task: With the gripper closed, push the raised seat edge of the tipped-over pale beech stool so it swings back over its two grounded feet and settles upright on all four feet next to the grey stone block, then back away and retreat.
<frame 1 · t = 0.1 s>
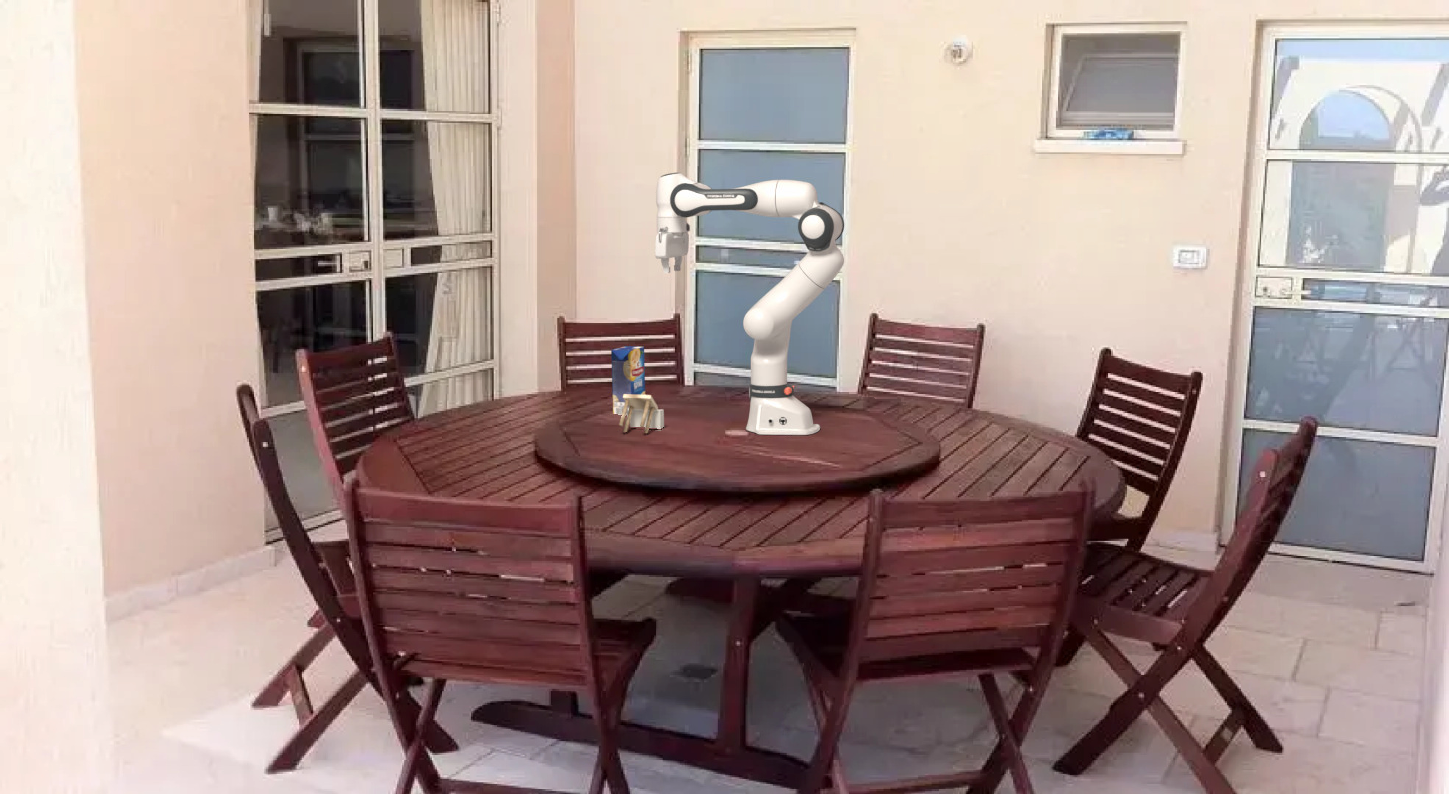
hand: (672, 272, 415), 48 cm above the table, fingers open, 8 cm apart
beverage box: (629, 415, 443), on the table
stool: (637, 414, 409), point 6 cm above the table, hinge at 40.0°
stone block: (647, 428, 417), on the table
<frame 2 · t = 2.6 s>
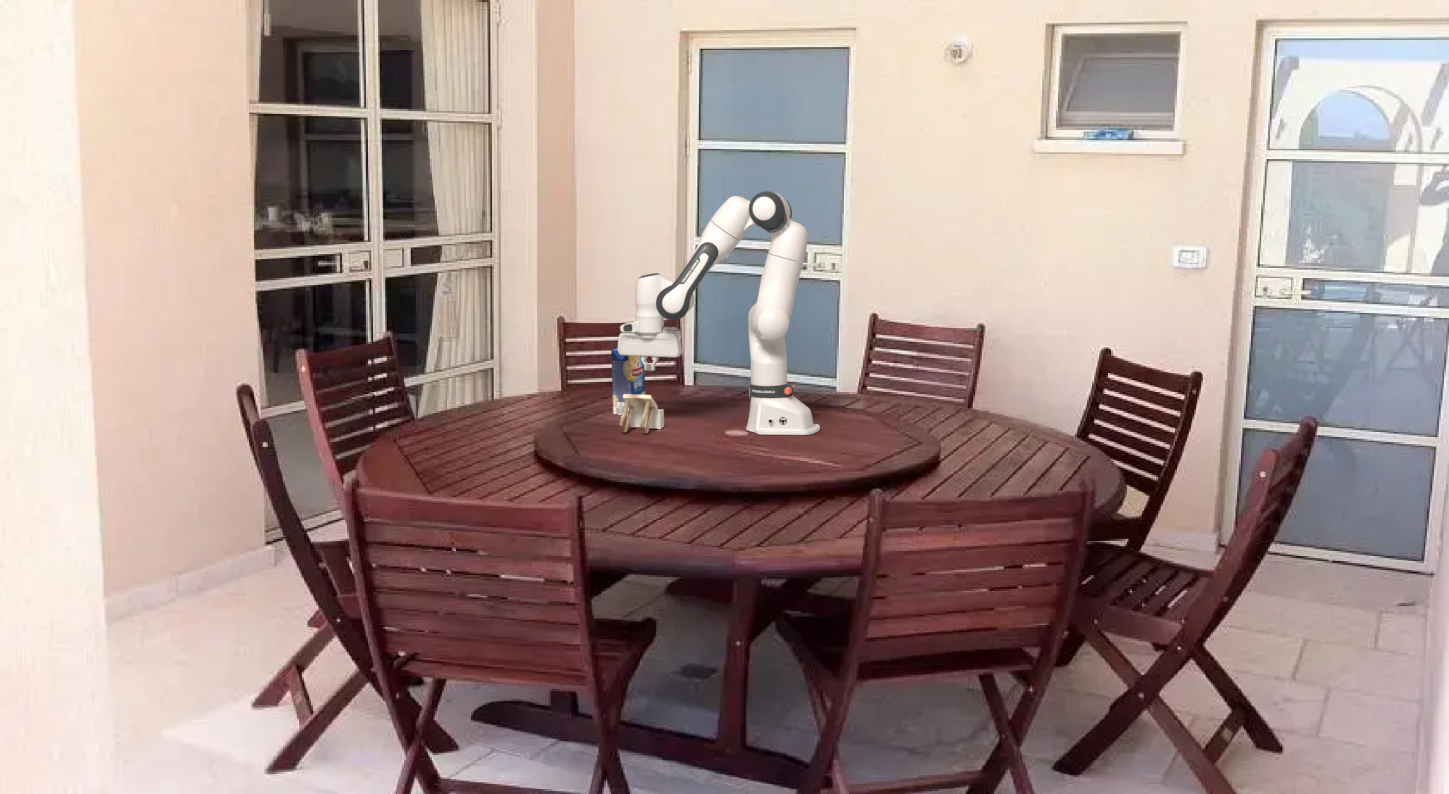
hand: (649, 370, 418), 18 cm above the table, fingers closed
nothing on the table moved.
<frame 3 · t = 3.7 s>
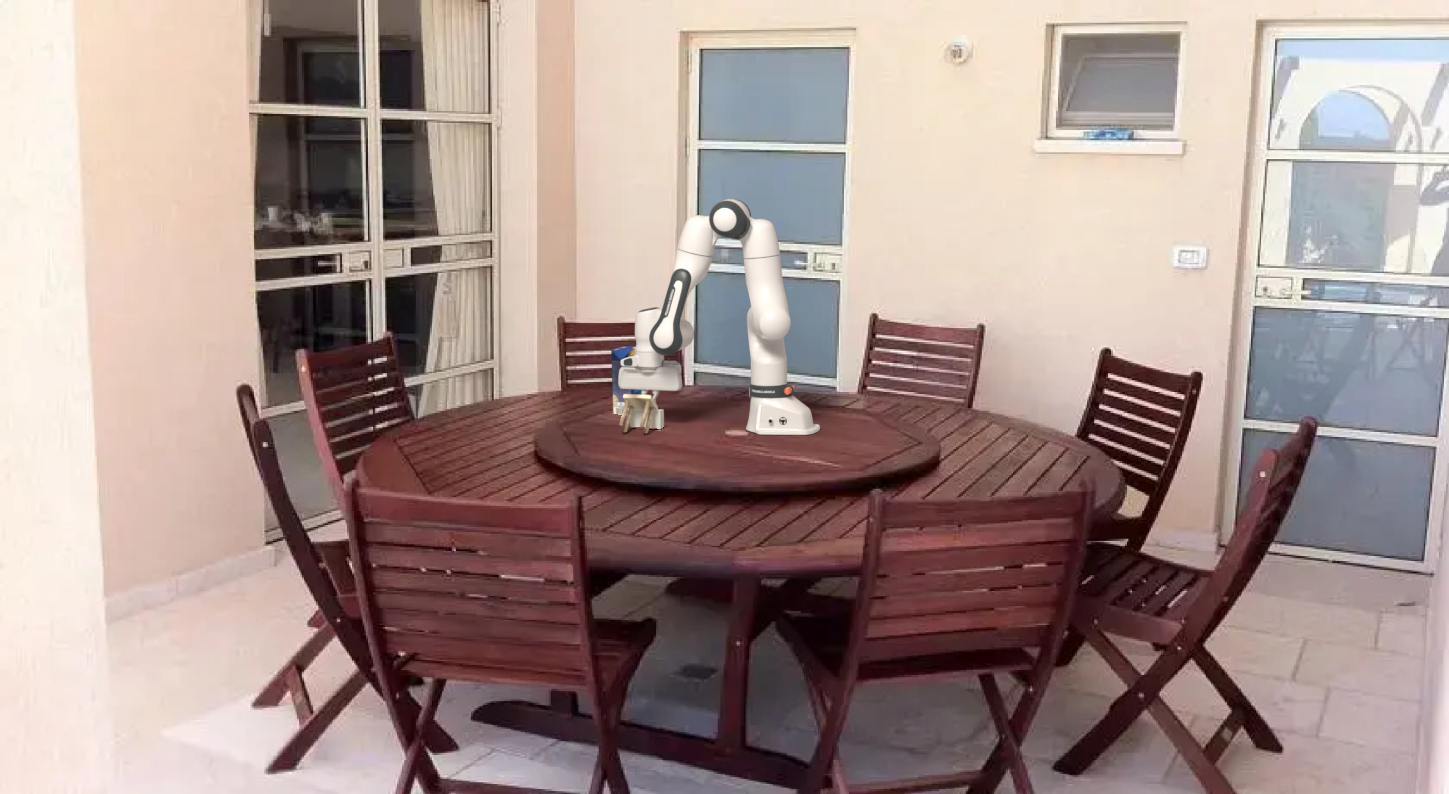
hand: (650, 404, 419), 7 cm above the table, fingers closed
nothing on the table moved.
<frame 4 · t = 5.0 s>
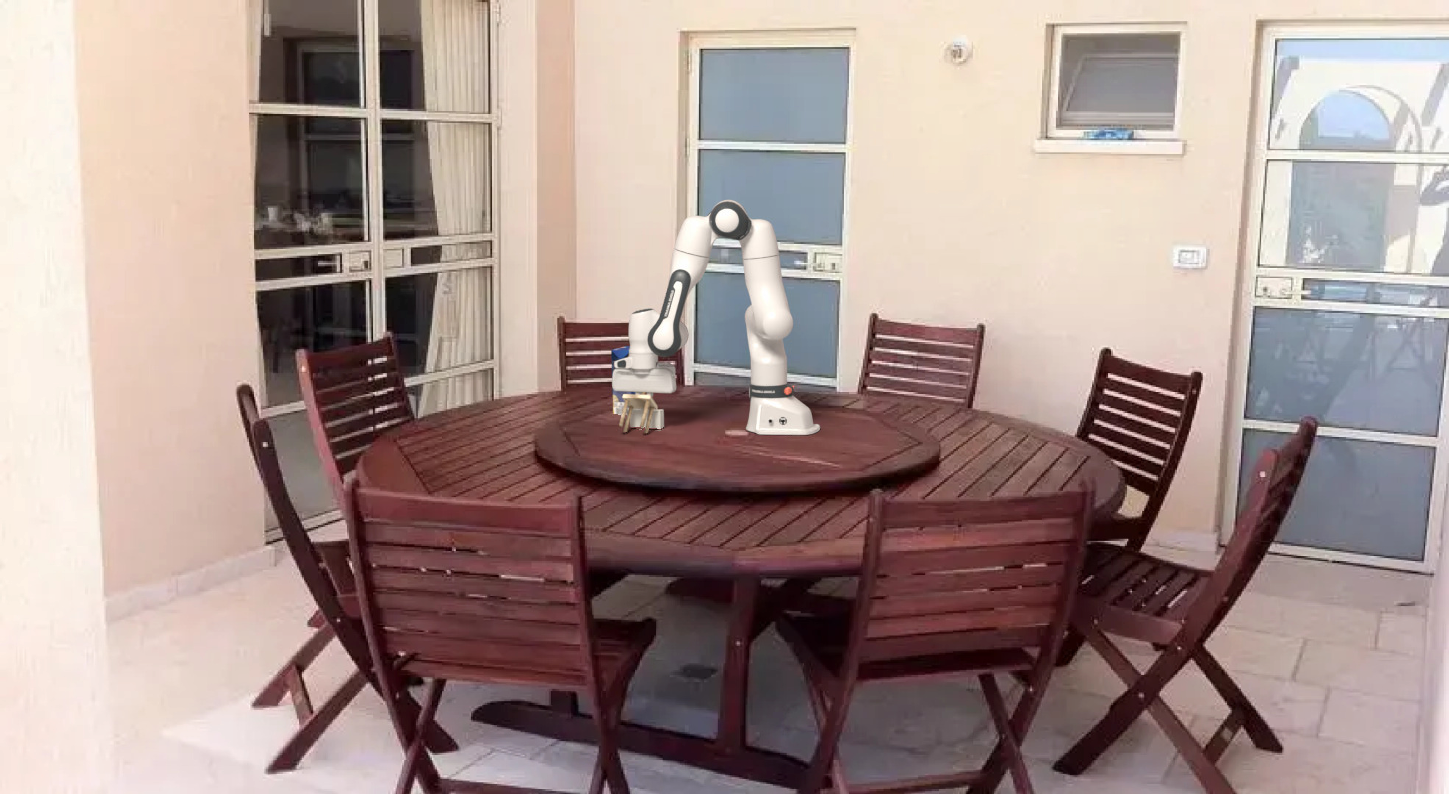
hand: (644, 406, 415), 7 cm above the table, fingers closed, pressing on stool
stool: (636, 414, 409), point 6 cm above the table, hinge at 38.3°, touching gripper
everything else where it was.
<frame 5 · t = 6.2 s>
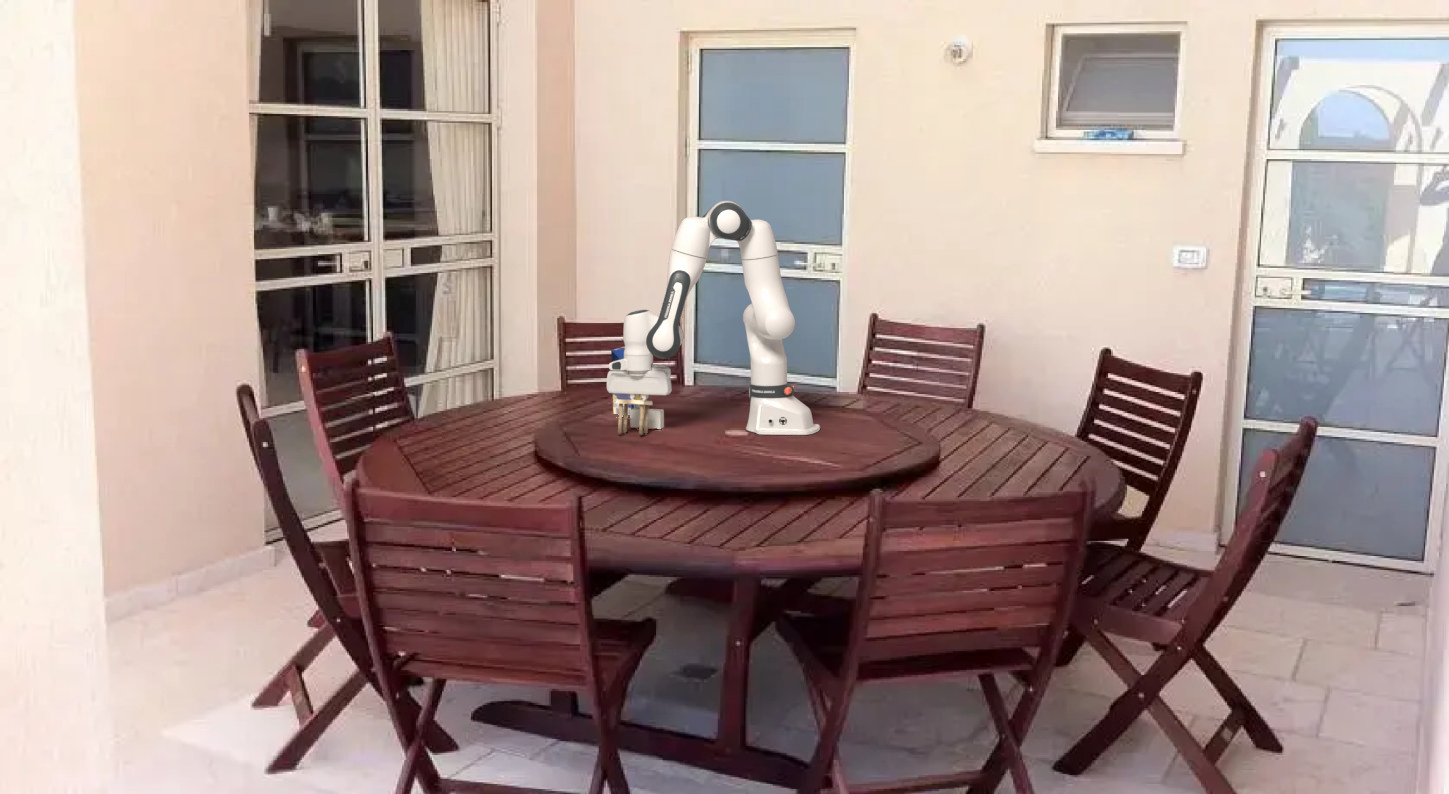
hand: (639, 408, 411), 7 cm above the table, fingers closed
stool: (633, 417, 406), point 6 cm above the table, hinge at 10.8°, touching gripper
everything else where it was.
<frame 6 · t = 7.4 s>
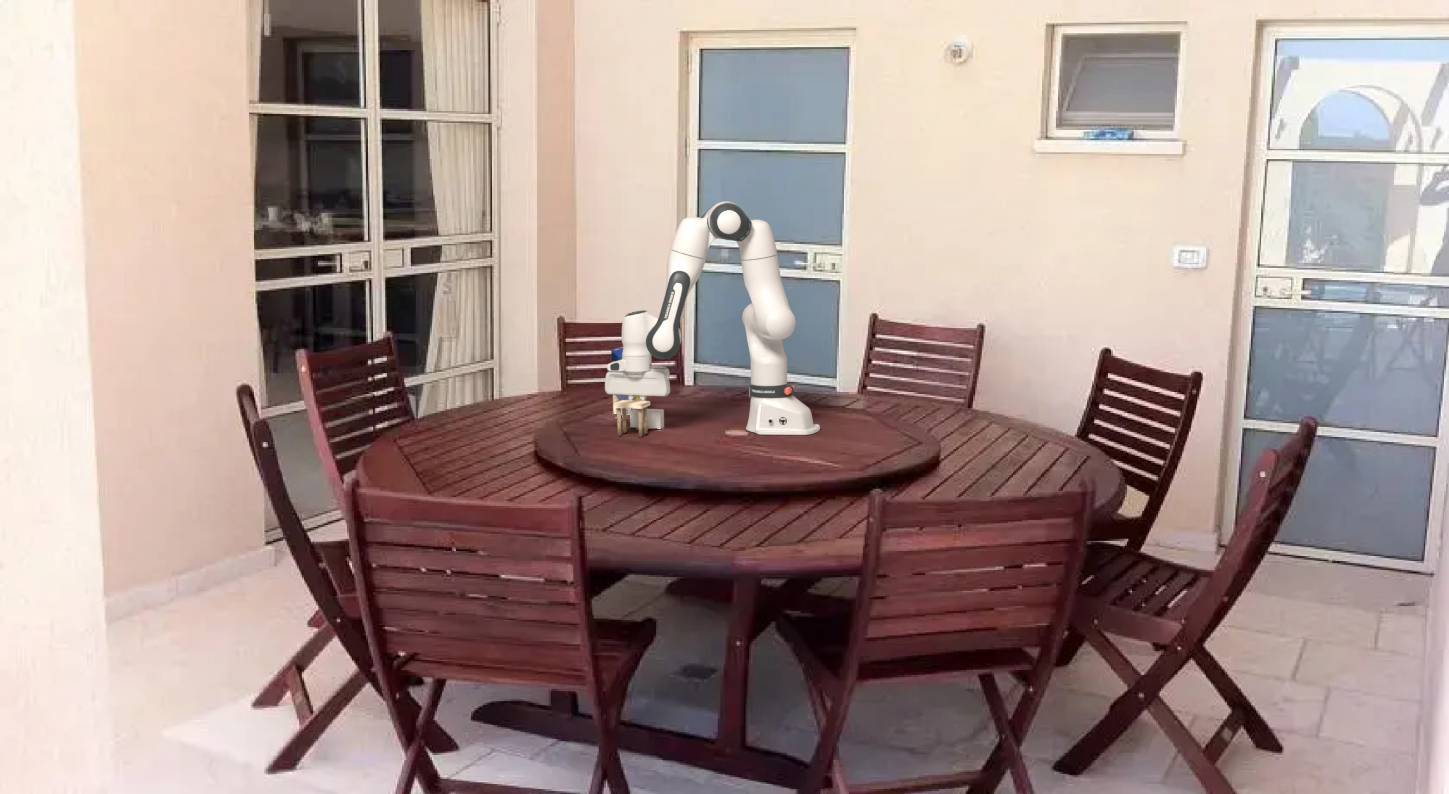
hand: (638, 409, 410), 7 cm above the table, fingers closed
stool: (632, 419, 405), point 5 cm above the table, hinge at -0.1°
everything else where it was.
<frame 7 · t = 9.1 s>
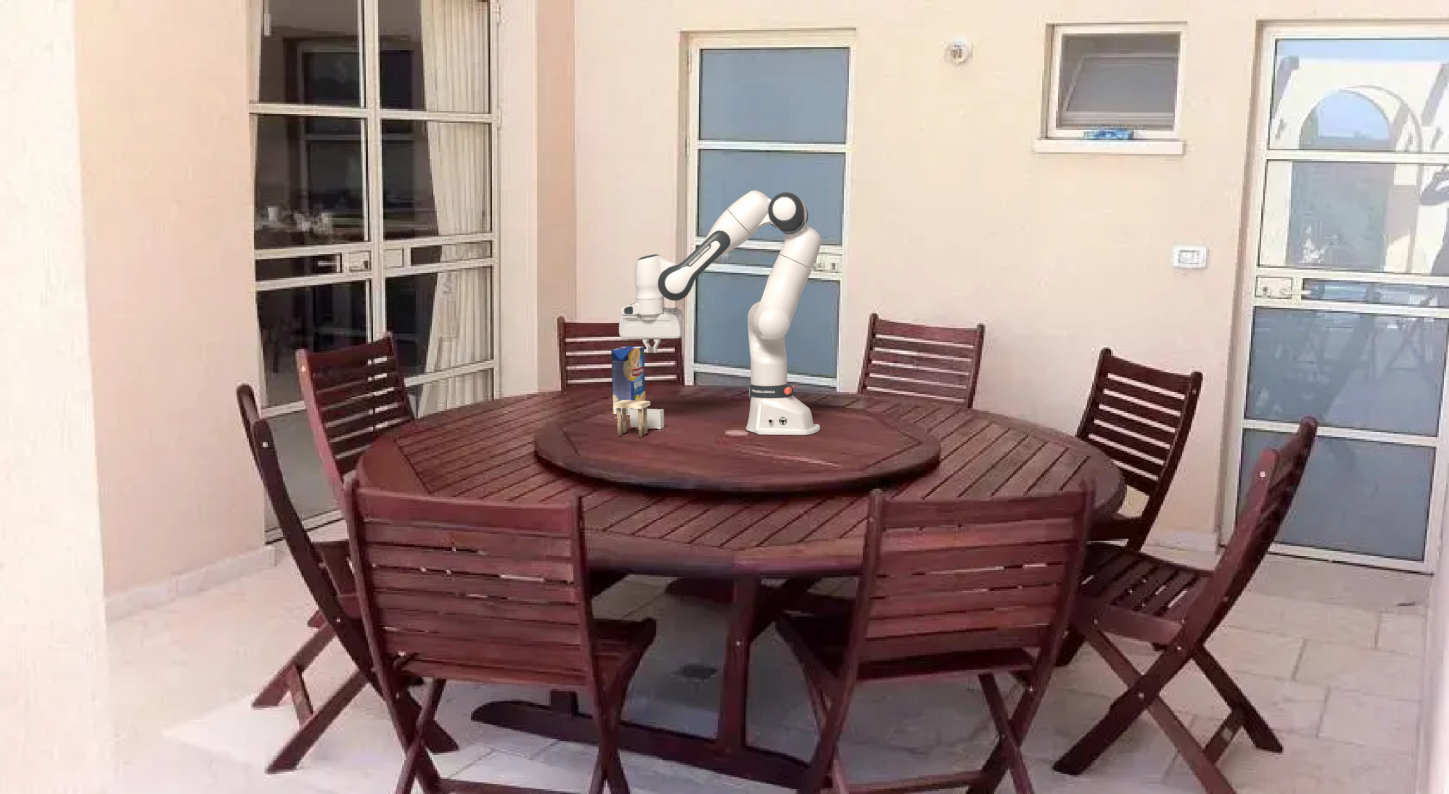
hand: (652, 352, 416), 23 cm above the table, fingers closed
nothing on the table moved.
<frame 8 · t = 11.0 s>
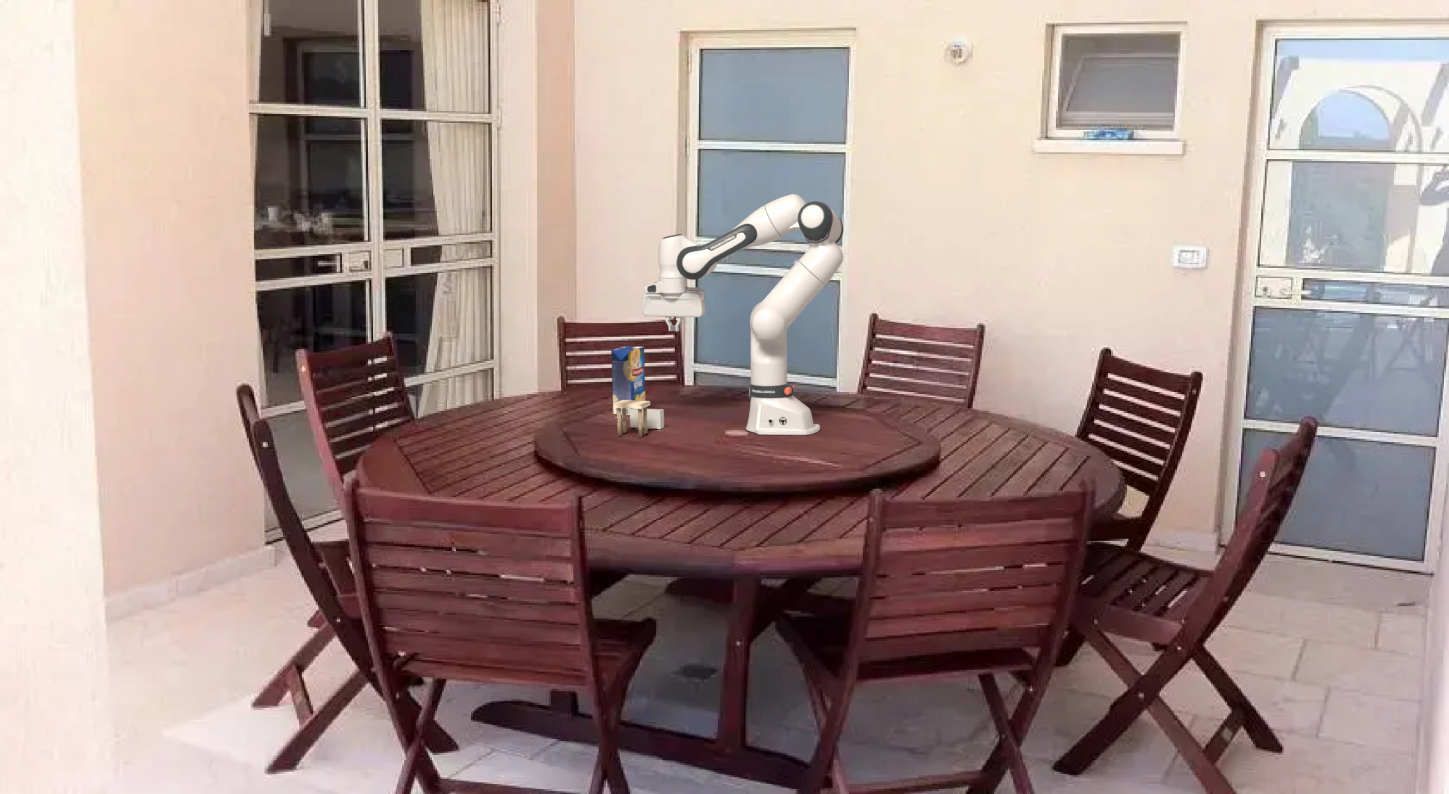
hand: (674, 331, 422), 29 cm above the table, fingers closed
nothing on the table moved.
at the end: stool at +0° (first picture: +40°); stool touching nothing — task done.
